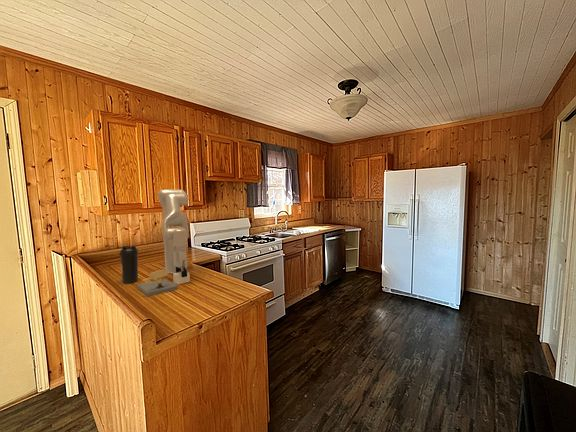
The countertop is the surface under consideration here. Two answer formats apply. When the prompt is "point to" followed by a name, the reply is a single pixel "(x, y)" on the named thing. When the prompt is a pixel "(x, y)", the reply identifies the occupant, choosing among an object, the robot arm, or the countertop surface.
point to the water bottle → (129, 264)
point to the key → (158, 276)
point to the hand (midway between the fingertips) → (181, 275)
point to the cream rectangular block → (180, 278)
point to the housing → (156, 287)
